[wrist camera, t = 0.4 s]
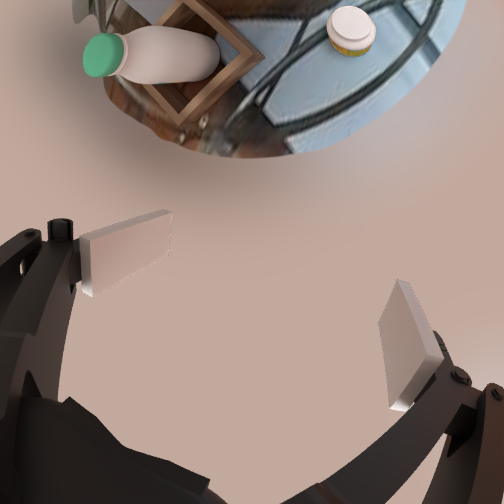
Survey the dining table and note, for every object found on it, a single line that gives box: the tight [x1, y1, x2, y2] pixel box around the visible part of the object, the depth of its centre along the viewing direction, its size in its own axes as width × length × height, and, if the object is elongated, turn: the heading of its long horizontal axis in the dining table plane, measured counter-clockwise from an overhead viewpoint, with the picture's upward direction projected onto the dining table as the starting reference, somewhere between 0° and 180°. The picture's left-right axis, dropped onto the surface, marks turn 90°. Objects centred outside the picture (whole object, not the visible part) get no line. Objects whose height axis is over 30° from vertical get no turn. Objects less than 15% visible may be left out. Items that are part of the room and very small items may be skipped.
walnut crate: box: [142, 0, 265, 126], centre depth 31 cm, size 14×14×5 cm
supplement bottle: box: [327, 6, 376, 57], centre depth 22 cm, size 5×5×10 cm
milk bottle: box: [83, 26, 220, 84], centre depth 25 cm, size 8×8×20 cm
